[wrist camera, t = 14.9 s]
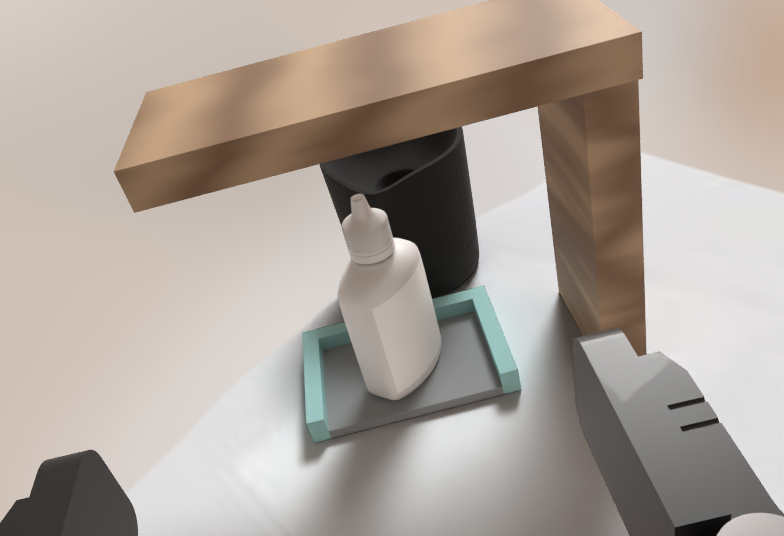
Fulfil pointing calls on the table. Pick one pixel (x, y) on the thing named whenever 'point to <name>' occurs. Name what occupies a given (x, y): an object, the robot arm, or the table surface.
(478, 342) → the mint green tray
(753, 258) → the table surface
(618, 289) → the shelf
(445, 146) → the pen holder
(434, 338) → the eye dropper bottle
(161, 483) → the table surface
